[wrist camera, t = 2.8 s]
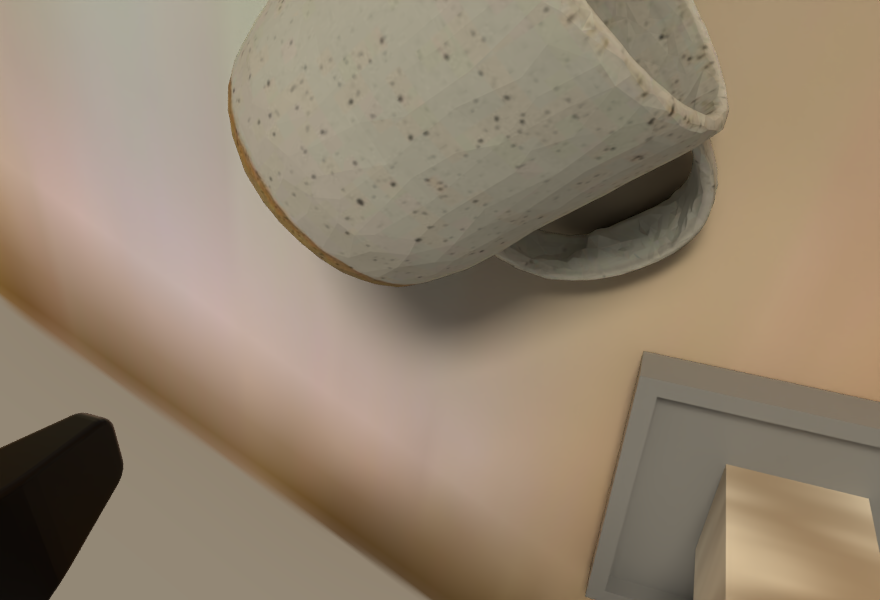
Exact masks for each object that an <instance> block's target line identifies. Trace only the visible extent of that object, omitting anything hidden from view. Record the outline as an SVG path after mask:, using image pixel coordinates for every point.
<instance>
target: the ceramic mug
mask: <svg viewBox="0 0 880 600" xmlns="http://www.w3.org/2000/svg"><path fill="white" fill-rule="evenodd" d="M728 112H729V107H728V100H727V93H726V86H725V82H724V78H723V75H722V71H721V67H720V63H719V60H718V56H717V54H716V52H715V49H714V47H713V45H712V42H711V40H710V37H709V34H708V31H707V29H706V26H705V24H704V22H703V20H702V18H701V17H700V15H699V12H698V10H697V7H696V5H695V3H694V1H693V0H269V1H268V3H267V4H266V6H265V7H264V9H263V10H262V11H261V13H260V14H259V16H258V17H257V19H256V20H255V22H254V24H253V26H252V28H251V30H250V32H249V34H248V35H247V37H246V39H245V41H244V42H243V44H242V46H241V48H240V50H239V52H238V55H237V57H236V59H235V62H234V66H233V70H232V74H231V78H230V82H229V85H228V113H229V117H230V123H231V130H232V136H233V139H234V142H235V145H236V148H237V150H238V153H239V156H240V159H241V162H242V165H243V168H244V170H245V172H246V174H247V176H248V178H249V179H250V181H251V183H252V184H253V186H254V188H255V189H256V191H257V192H258V194H259V196H260V197H261V199H262V201H263V202H264V203H265V205H266V206H267V207H268V208H269V209H270V211H271V212H272V213H273V214H274V216H275V217H276V218H277V219H278V221H279V222H280V223H281V224H282V225H283V226H284V227H285V228H286V229H287V230H288V231H289V232H290V233H291V234H292V235H293V236H294V237H295V238H296V239H298V240H299V241H300V242H301V243H302V244H303V245H304V246H306V247H307V248H308V249H309V250H310V251H312V252H313V253H314V254H315V255H317V256H318V257H319V258H320V259H322V260H324V261H325V262H327V263H328V264H330V265H331V266H333V267H335V268H336V269H338V270H339V271H341V272H343V273H345V274H348V275H350V276H353V277H356V278H358V279H361V280H364V281H367V282H371V283H374V284H378V285H386V286H394V287H402V286H410V285H415V284H420V283H425V282H429V281H432V280H435V279H438V278H442V277H445V276H448V275H451V274H454V273H457V272H460V271H463V270H466V269H469V268H471V267H472V266H474V265H476V264H478V263H480V262H482V261H484V260H486V259H488V258H490V257H492V256H493V255H495V256H496V257H498V258H499V259H500V260H503V261H505V262H507V263H508V264H510V265H512V266H513V267H515V268H517V269H519V270H522V271H525V272H528V273H531V274H534V275H537V276H540V277H543V278H546V279H553V280H568V281H583V280H599V279H604V278H609V277H614V276H618V275H622V274H626V273H629V272H632V271H636V270H639V269H641V268H644V267H646V266H649V265H651V264H653V263H656V262H658V261H660V260H662V259H664V258H666V257H668V256H670V255H671V254H673V253H675V252H676V251H678V250H679V249H680V248H682V247H683V246H685V245H686V244H687V243H688V242H689V241H691V240H692V239H693V238H694V237H695V236H696V235H697V234H698V233H699V232H700V230H701V229H702V227H703V226H704V224H705V223H706V221H707V218H708V216H709V214H710V211H711V208H712V206H713V203H714V200H715V194H716V189H717V186H718V182H717V165H716V160H715V156H714V152H713V148H712V145H711V141H710V138H711V137H712V136H714V135H715V134H717V133H718V132H720V131H721V130H722V129H723V128H724V125H725V122H726V119H727V116H728ZM691 150H692V152H693V163H692V170H691V172H690V174H689V177H688V179H687V180H686V182H685V183H684V184H683V185H682V187H681V188H680V189H678V190H676V191H675V192H674V193H673V194H672V196H671V197H670V198H669V199H668V200H665V201H663V202H662V203H660V204H659V205H657V206H655V207H653V208H650V209H648V210H646V211H644V212H642V213H640V214H638V215H635V216H633V217H630V218H628V219H626V220H623V221H621V222H619V223H617V224H615V225H612V226H610V227H608V228H602V229H596V230H594V231H593V232H591V233H589V234H587V235H565V234H558V233H552V232H546V231H543V230H540V229H539V228H541V227H543V226H545V225H547V224H549V223H551V222H553V221H555V220H557V219H559V218H561V217H563V216H565V215H567V214H568V213H570V212H572V211H574V210H576V209H578V208H580V207H582V206H584V205H586V204H588V203H590V202H592V201H594V200H596V199H598V198H600V197H602V196H604V195H606V194H608V193H610V192H612V191H613V190H615V189H617V188H619V187H621V186H622V185H624V184H626V183H628V182H630V181H632V180H634V179H636V178H638V177H640V176H642V175H644V174H646V173H648V172H650V171H652V170H654V169H656V168H658V167H660V166H662V165H664V164H666V163H668V162H670V161H672V160H674V159H676V158H678V157H680V156H681V155H683V154H685V153H687V152H689V151H691Z"/></svg>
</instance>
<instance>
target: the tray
mask: <svg viewBox="0 0 880 600" xmlns="http://www.w3.org/2000/svg"><path fill="white" fill-rule="evenodd" d="M726 464H728V465H732V466H736V467H740V468H745V469H749V470H753V471H757V472H761V473H765V474H769V475H773V476H778V477H782V478H786V479H790V480H794V481H798V482H802V483H806V484H810V485H815V486H819V487H823V488H827V489H831V490H835V491H839V492H843V493H847V494H852V495H856V496H860V497H864V498H868V499H869V502H870V507H871V512H872V517H873V522H874V527H875V532H876V537H877V542H878V547H879V552H880V402H877V401H872V400H867V399H863V398H858V397H854V396H849V395H844V394H840V393H835V392H830V391H826V390H821V389H817V388H812V387H807V386H803V385H798V384H793V383H789V382H784V381H780V380H775V379H770V378H766V377H761V376H756V375H752V374H747V373H743V372H738V371H733V370H729V369H724V368H719V367H715V366H710V365H706V364H701V363H696V362H692V361H687V360H682V359H678V358H673V357H669V356H664V355H659V354H655V353H650V352H645V351H644V352H643V356H642V360H641V364H640V368H639V372H638V376H637V380H636V384H635V389H634V393H633V397H632V401H631V405H630V409H629V413H628V417H627V421H626V425H625V429H624V433H623V437H622V441H621V446H620V450H619V454H618V458H617V462H616V466H615V470H614V474H613V478H612V482H611V486H610V490H609V494H608V499H607V503H606V507H605V511H604V515H603V519H602V523H601V527H600V531H599V535H598V539H597V543H596V547H595V552H594V556H593V560H592V564H591V568H590V573H589V578H588V584H587V590H586V595H585V597H588V598H592V599H595V600H693V595H694V572H695V550H696V546H697V544H698V541H699V538H700V535H701V533H702V530H703V527H704V524H705V521H706V519H707V516H708V513H709V510H710V508H711V505H712V502H713V499H714V496H715V494H716V491H717V488H718V485H719V482H720V480H721V477H722V474H723V471H724V469H725V466H726Z"/></svg>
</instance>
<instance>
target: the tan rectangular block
mask: <svg viewBox="0 0 880 600" xmlns="http://www.w3.org/2000/svg"><path fill="white" fill-rule="evenodd" d="M693 600H880V552H879V547H878V542H877V537H876V532H875V527H874V522H873V517H872V512H871V507H870V502H869V499H868V498H864V497H860V496H856V495H852V494H847V493H843V492H839V491H835V490H831V489H827V488H823V487H819V486H815V485H810V484H806V483H802V482H798V481H794V480H790V479H786V478H782V477H778V476H773V475H769V474H765V473H761V472H757V471H753V470H749V469H745V468H740V467H736V466H732V465H728V464H726V466H725V469H724V471H723V474H722V477H721V480H720V482H719V485H718V488H717V491H716V494H715V496H714V499H713V502H712V505H711V508H710V510H709V513H708V516H707V519H706V521H705V524H704V527H703V530H702V533H701V535H700V538H699V541H698V544H697V546H696V550H695V572H694V595H693Z"/></svg>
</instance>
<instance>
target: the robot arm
mask: <svg viewBox="0 0 880 600" xmlns="http://www.w3.org/2000/svg"><path fill="white" fill-rule="evenodd" d="M122 471H123V459H122V456H121V452H120V448H119V444H118V441H117V437H116V433H115V430H114V427H113V424H112V423H111V422H110V421H109V420H108V419H106V418H103V417H98V416H95V415H92V414H88V413H78V414H74V415H72V416H69V417H68V418H65V419H63V420H61V421H58V422H56V423H54V424H52V425H50V426H47V427H45V428H43V429H41V430H39V431H36V432H35V433H32V434H30V435H28V436H25V437H23V438H21V439H19V440H17V441H15V442H12V443H10V444H8V445H6V446H3V447H1V448H0V600H49V599H50V597H51V596H52V594H53V593H54V591H55V590H56V589H57V587H58V586H59V584H60V583H61V581H62V579H63V578H64V576H65V574H66V573H67V571H68V570H69V568H70V566H71V565H72V563H73V561H74V559H75V558H76V556H77V554H78V552H79V551H80V549H81V547H82V545H83V544H84V542H85V540H86V539H87V536H88V535H89V533H90V531H91V530H92V528H93V526H94V524H95V523H96V521H97V519H98V518H99V516H100V514H101V512H102V511H103V509H104V507H105V506H106V503H107V502H108V500H109V499H110V497H111V495H112V493H113V492H114V490H115V488H116V486H117V485H118V483H119V481H120V478H121V476H122Z"/></svg>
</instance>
